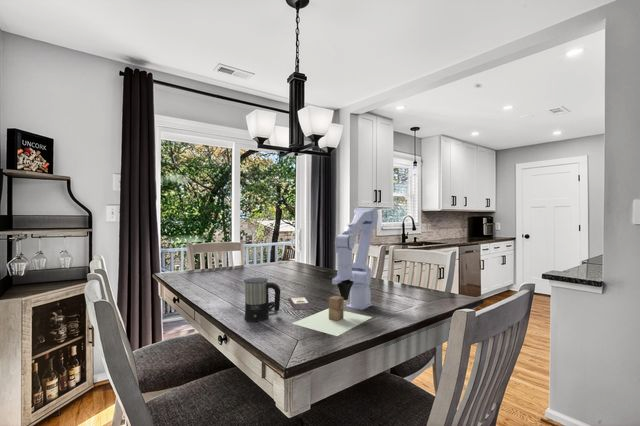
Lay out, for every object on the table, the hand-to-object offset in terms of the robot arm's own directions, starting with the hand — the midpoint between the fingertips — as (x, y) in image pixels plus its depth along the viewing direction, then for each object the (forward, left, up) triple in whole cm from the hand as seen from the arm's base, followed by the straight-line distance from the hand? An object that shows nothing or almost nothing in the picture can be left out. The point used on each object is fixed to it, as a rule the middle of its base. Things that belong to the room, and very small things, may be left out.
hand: (344, 299), depth 128 cm
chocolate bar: (-2, -24, -7) cm, 25 cm away
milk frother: (+19, -27, -7) cm, 34 cm away
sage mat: (+8, 0, -6) cm, 10 cm away
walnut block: (+6, 0, -6) cm, 8 cm away
